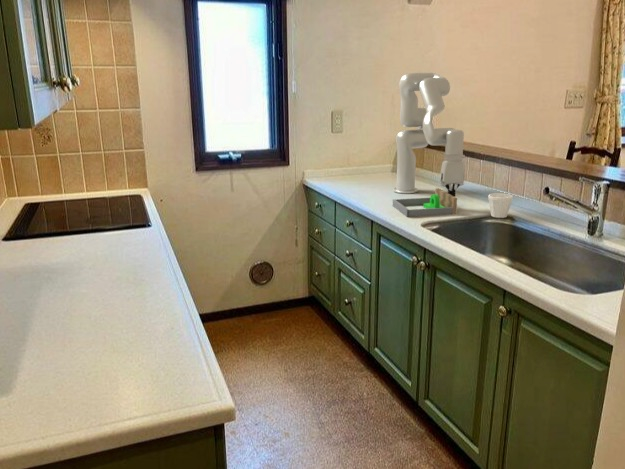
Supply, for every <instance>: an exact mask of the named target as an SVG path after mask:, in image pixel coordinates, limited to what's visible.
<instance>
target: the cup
mask: <svg viewBox="0 0 625 469" xmlns="http://www.w3.org/2000/svg"><path fill="white" fill-rule="evenodd" d="M487 198H488V203H489V210H490V216H491V217H492V218H494V219H506V218H507V217H508V214H509V211H510V208H511V206H512V203H513V200H514V195H513V194H510V193H503V192H494V193H489V194H488V196H487Z"/></svg>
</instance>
